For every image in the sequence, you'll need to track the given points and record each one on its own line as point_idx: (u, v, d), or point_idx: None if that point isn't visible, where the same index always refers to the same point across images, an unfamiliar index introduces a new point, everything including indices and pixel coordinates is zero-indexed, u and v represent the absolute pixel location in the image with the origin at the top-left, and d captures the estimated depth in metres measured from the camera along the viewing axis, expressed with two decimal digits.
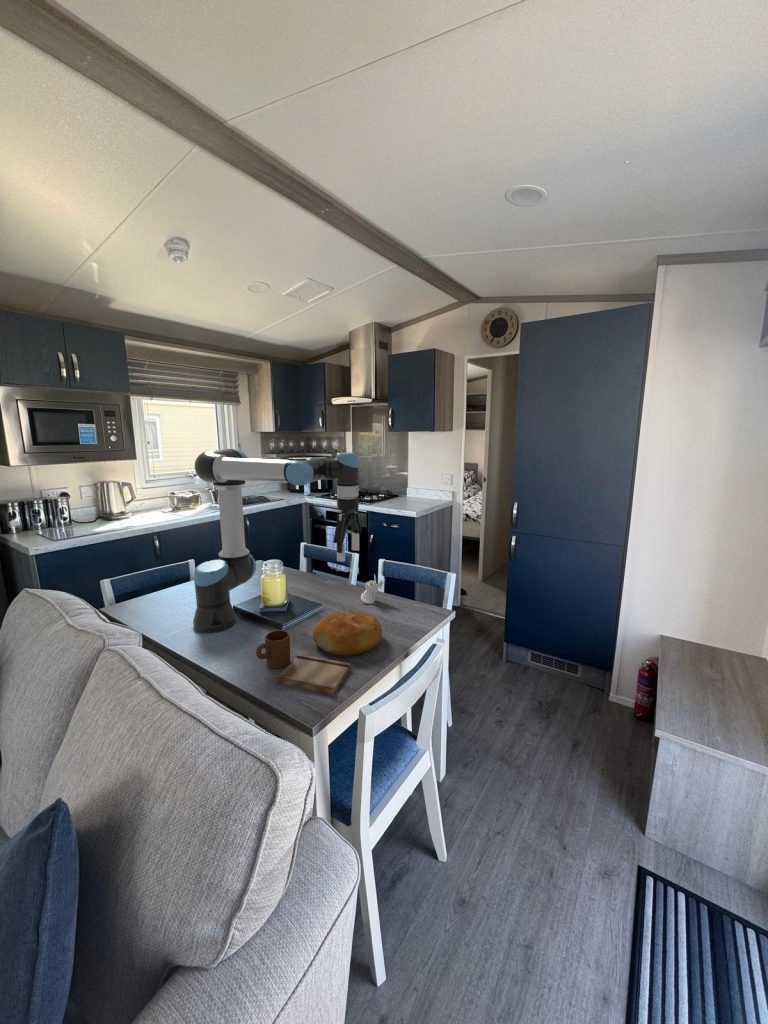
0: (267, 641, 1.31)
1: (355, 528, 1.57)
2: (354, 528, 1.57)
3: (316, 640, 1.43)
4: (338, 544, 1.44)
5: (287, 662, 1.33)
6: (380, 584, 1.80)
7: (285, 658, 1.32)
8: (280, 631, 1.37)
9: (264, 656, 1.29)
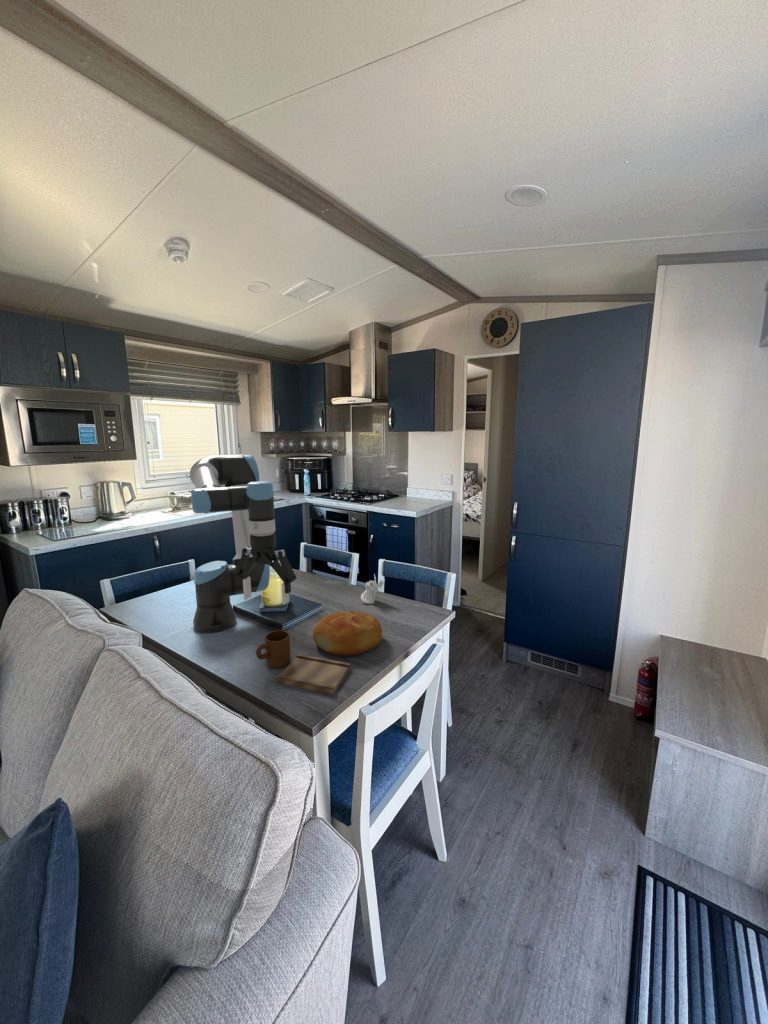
0: (267, 641, 1.31)
1: None
2: None
3: (316, 640, 1.43)
4: None
5: (287, 662, 1.33)
6: (380, 584, 1.80)
7: (285, 658, 1.32)
8: (280, 631, 1.37)
9: (264, 656, 1.29)
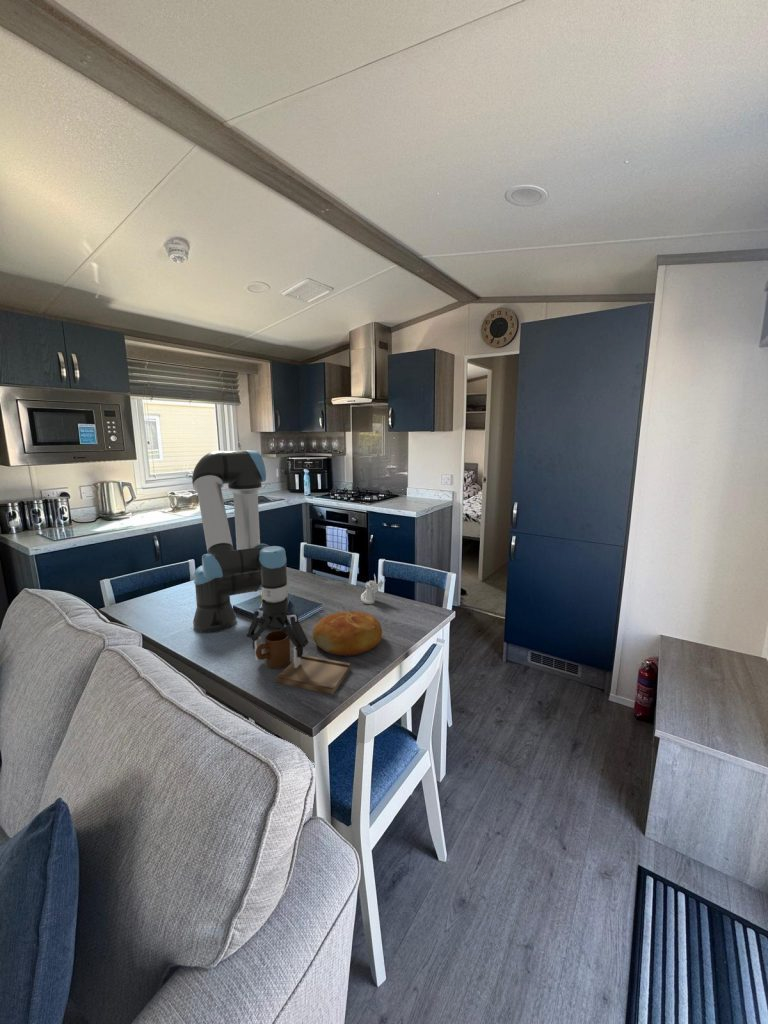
0: (267, 641, 1.31)
1: None
2: None
3: (316, 640, 1.43)
4: None
5: (287, 662, 1.33)
6: (380, 584, 1.80)
7: (285, 658, 1.32)
8: (280, 631, 1.37)
9: (264, 656, 1.29)
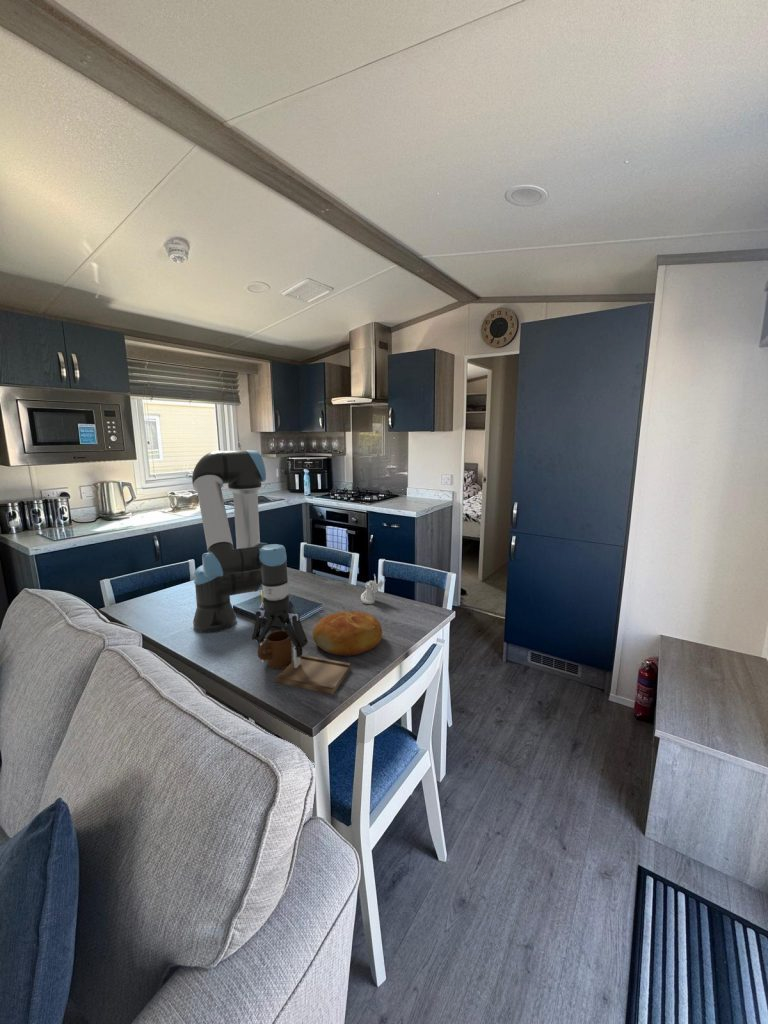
0: (268, 641, 1.31)
1: None
2: None
3: (316, 640, 1.43)
4: None
5: (289, 662, 1.33)
6: (380, 584, 1.80)
7: (287, 658, 1.32)
8: (282, 631, 1.37)
9: (266, 657, 1.29)
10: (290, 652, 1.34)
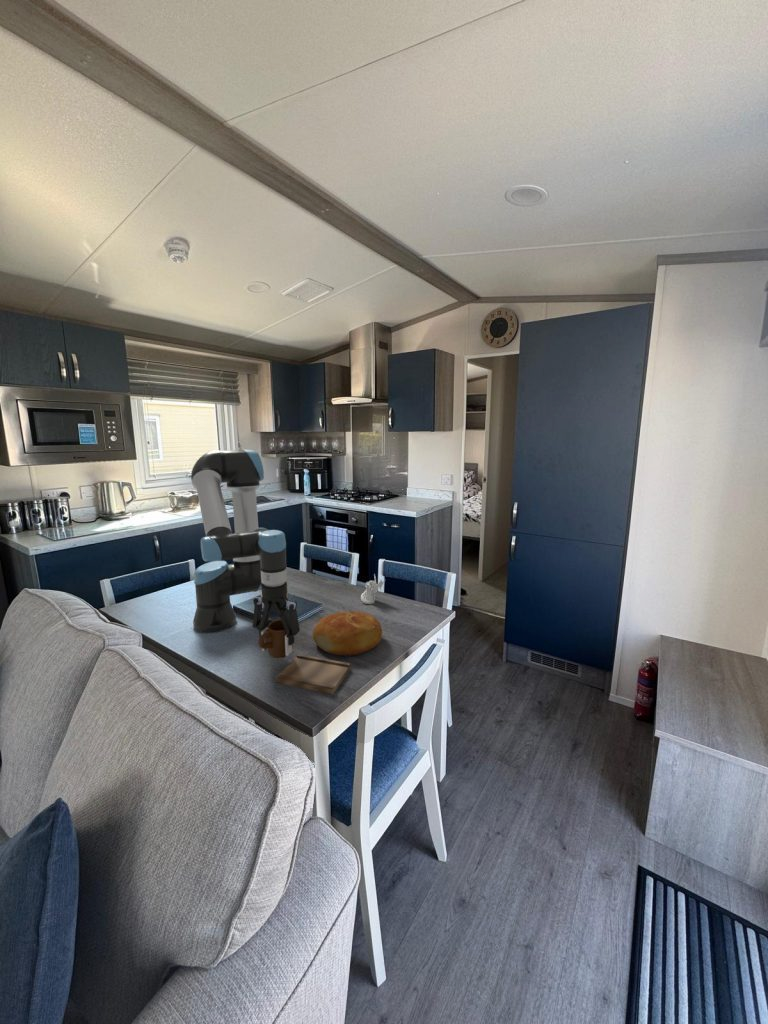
0: (270, 631, 1.30)
1: None
2: None
3: (316, 640, 1.43)
4: None
5: None
6: (380, 584, 1.80)
7: None
8: None
9: (266, 646, 1.29)
10: None
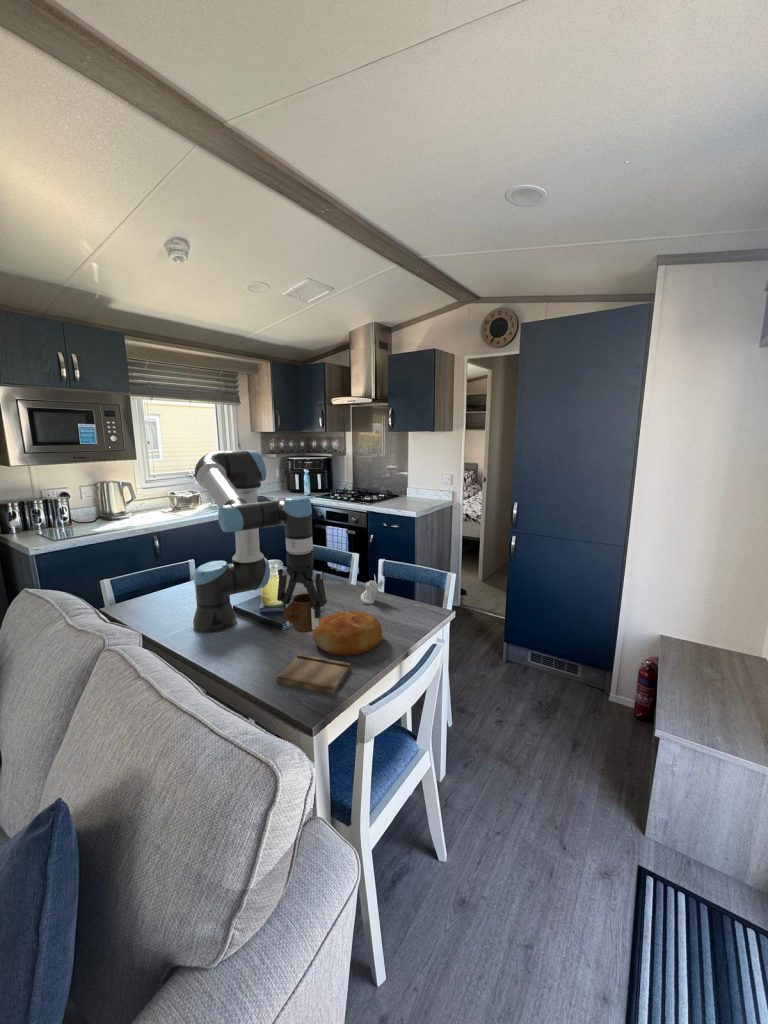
0: (295, 603, 1.24)
1: None
2: None
3: (316, 640, 1.43)
4: None
5: None
6: (380, 584, 1.80)
7: None
8: (308, 594, 1.30)
9: (292, 618, 1.22)
10: None
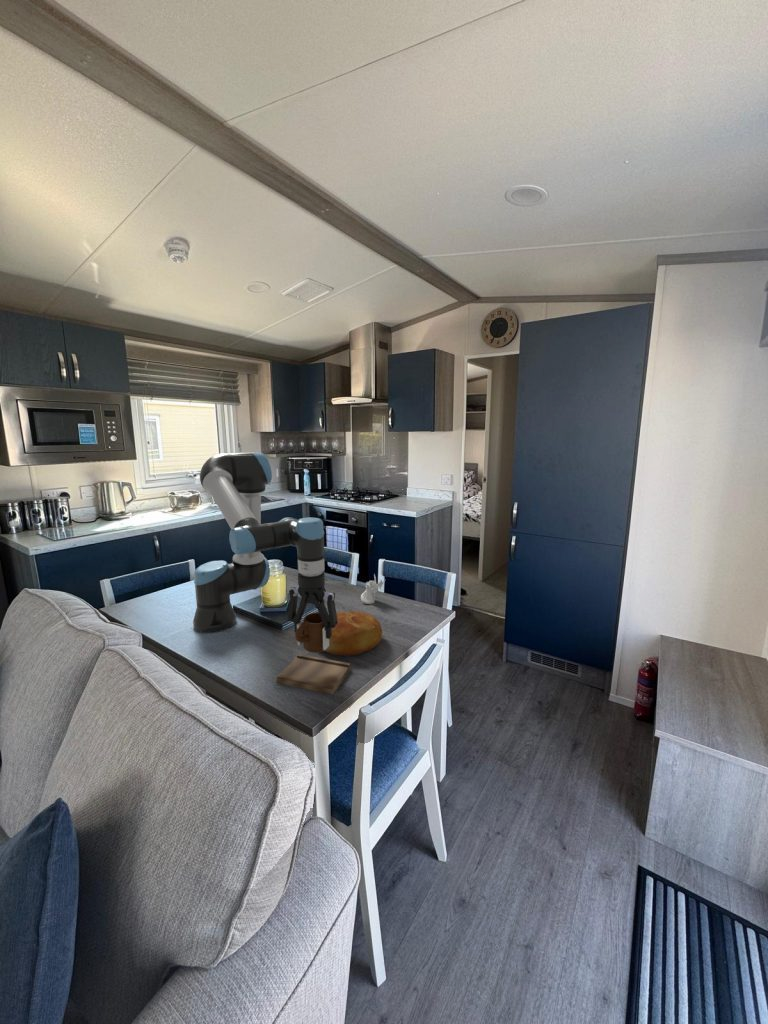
0: (306, 623, 1.24)
1: None
2: None
3: None
4: None
5: None
6: (380, 584, 1.80)
7: None
8: (318, 613, 1.30)
9: (303, 639, 1.22)
10: None
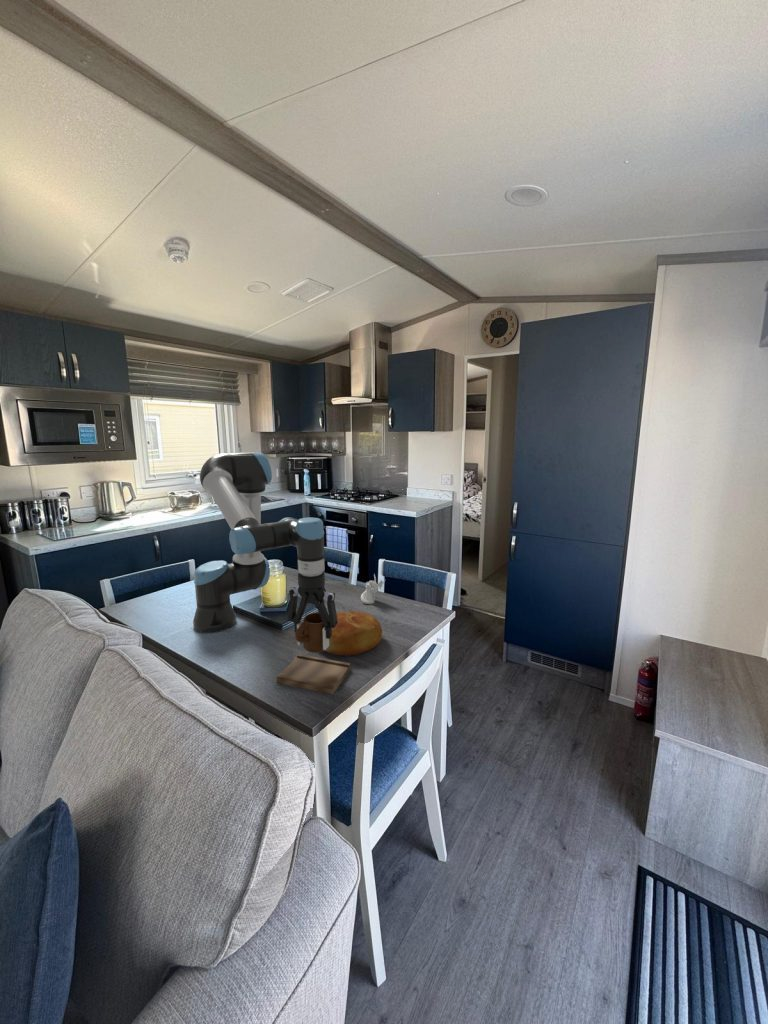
0: (306, 623, 1.24)
1: None
2: None
3: None
4: None
5: None
6: (380, 584, 1.80)
7: None
8: (318, 613, 1.30)
9: (303, 639, 1.22)
10: None
